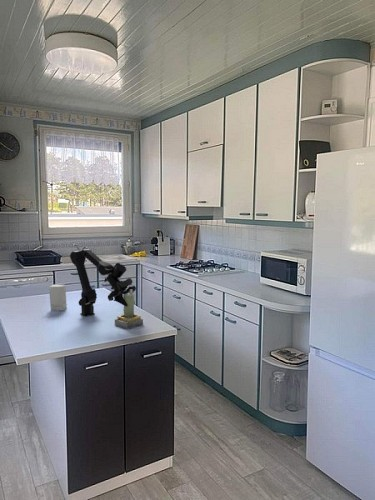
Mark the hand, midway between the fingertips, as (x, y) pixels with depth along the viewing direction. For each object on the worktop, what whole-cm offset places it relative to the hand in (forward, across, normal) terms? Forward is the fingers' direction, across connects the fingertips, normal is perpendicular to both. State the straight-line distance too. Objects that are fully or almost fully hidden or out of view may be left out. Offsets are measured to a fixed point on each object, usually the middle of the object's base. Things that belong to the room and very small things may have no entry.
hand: (130, 305), depth 213 cm
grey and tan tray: (+7, -1, +8) cm, 11 cm away
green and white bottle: (+4, 0, +6) cm, 7 cm away
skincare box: (-33, -1, +49) cm, 59 cm away
